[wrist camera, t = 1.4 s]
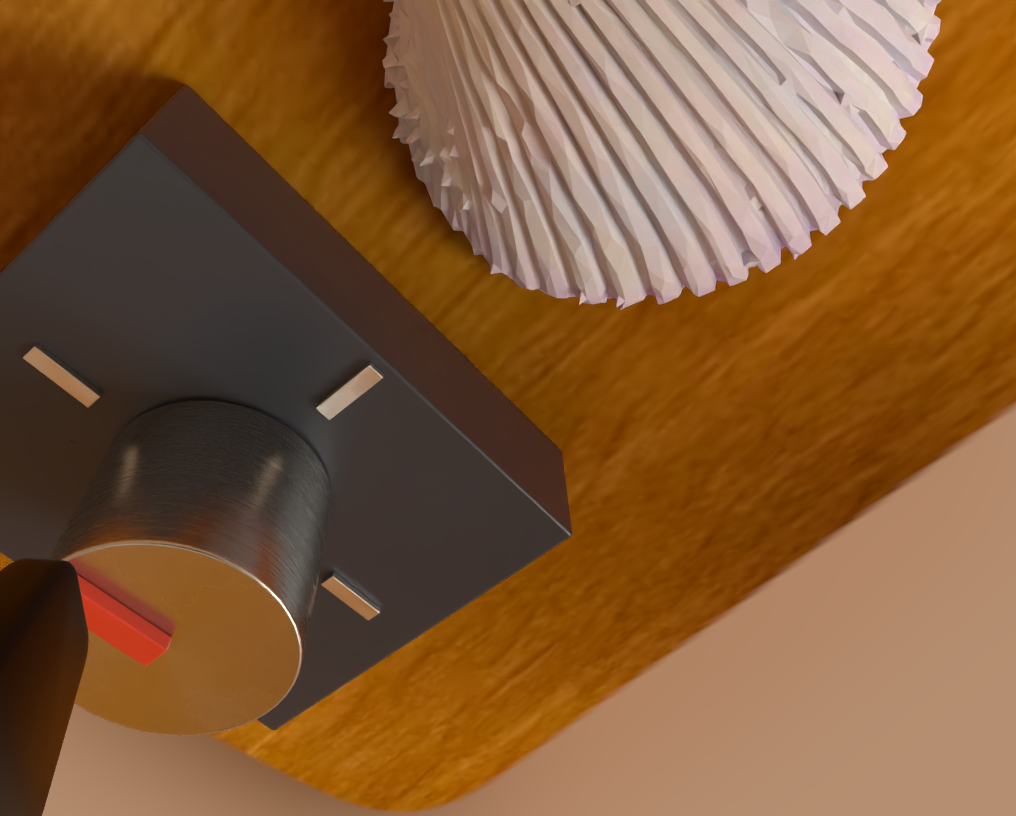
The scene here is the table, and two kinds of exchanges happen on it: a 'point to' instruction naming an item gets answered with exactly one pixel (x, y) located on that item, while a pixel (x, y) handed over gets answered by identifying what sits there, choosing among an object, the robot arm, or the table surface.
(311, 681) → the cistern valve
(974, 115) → the table surface
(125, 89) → the table surface
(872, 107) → the seashell
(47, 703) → the robot arm
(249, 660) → the valve knob
